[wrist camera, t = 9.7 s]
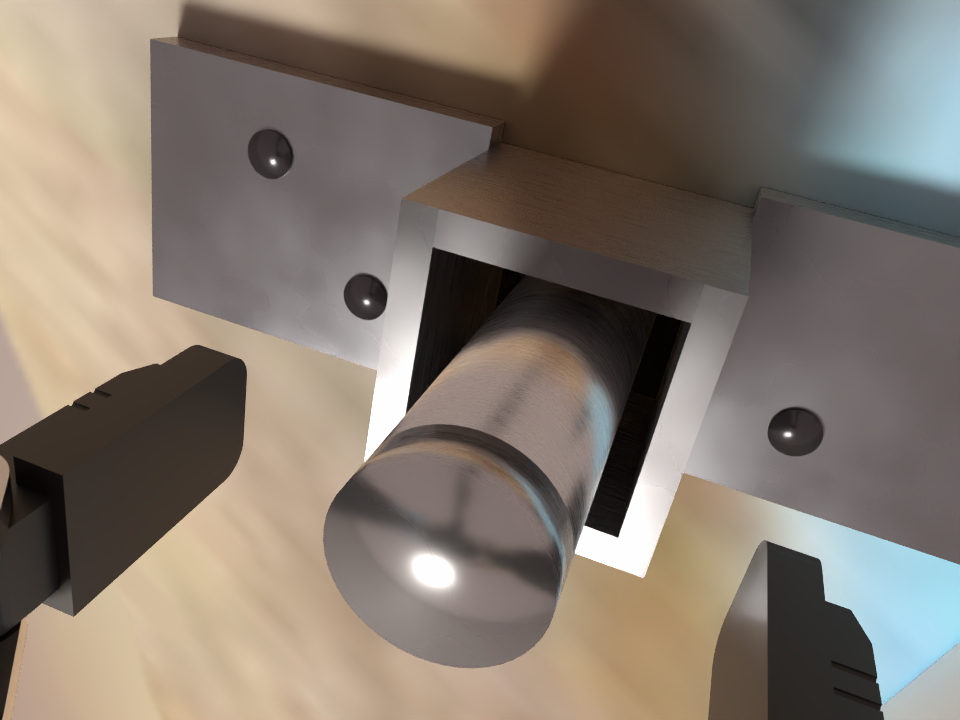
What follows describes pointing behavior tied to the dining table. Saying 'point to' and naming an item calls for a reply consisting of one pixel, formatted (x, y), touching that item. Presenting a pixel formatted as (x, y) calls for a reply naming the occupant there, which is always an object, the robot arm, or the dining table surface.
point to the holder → (930, 693)
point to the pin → (489, 480)
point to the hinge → (576, 264)
